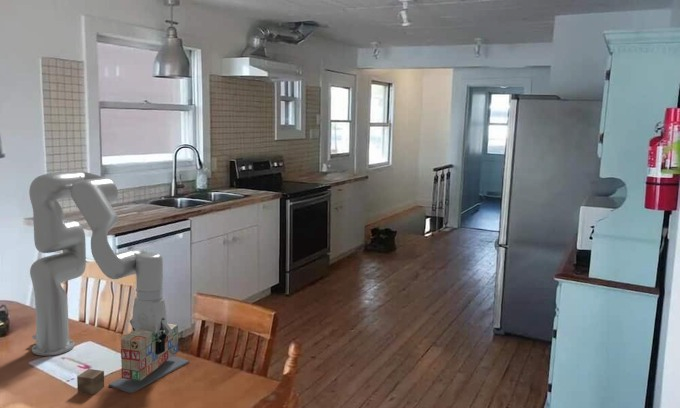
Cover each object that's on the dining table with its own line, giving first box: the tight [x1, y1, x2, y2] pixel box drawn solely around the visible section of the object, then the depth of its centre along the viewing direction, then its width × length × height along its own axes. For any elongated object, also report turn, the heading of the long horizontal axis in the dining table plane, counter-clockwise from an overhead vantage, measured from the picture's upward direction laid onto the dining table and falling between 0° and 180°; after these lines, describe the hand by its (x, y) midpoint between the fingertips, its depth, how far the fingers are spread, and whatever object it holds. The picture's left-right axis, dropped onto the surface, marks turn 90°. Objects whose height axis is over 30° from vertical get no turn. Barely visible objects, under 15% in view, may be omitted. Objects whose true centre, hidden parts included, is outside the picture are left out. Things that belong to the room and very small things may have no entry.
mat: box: [108, 355, 190, 394], centre depth 168 cm, size 9×24×1 cm, turn 154°
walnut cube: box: [76, 368, 105, 396], centre depth 157 cm, size 5×5×5 cm
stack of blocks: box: [120, 323, 179, 381], centre depth 167 cm, size 21×6×12 cm, turn 167°
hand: (150, 349), depth 167 cm, fingers closed on stack of blocks, 7 cm apart
